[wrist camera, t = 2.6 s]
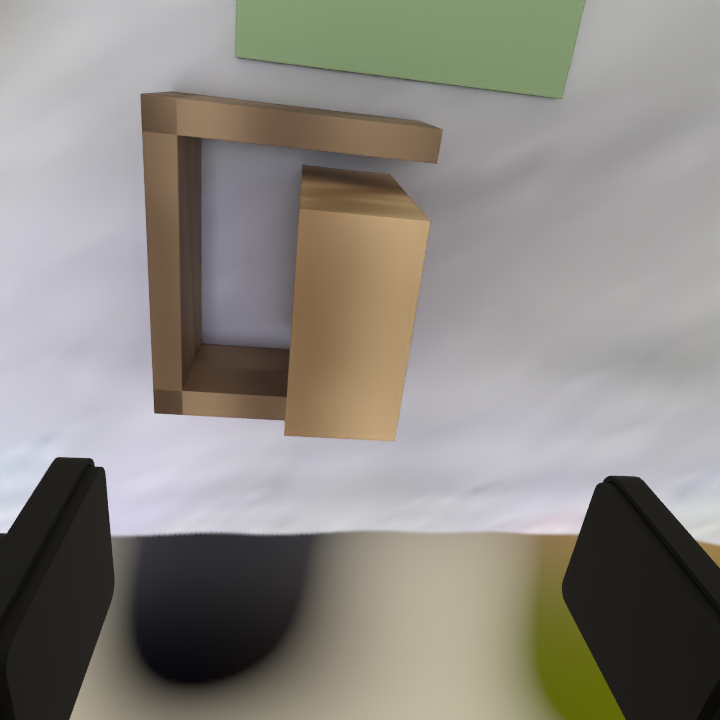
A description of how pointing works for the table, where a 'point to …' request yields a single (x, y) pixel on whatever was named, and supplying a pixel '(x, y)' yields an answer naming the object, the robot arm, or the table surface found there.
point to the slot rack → (183, 237)
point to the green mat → (420, 39)
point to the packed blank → (352, 304)
